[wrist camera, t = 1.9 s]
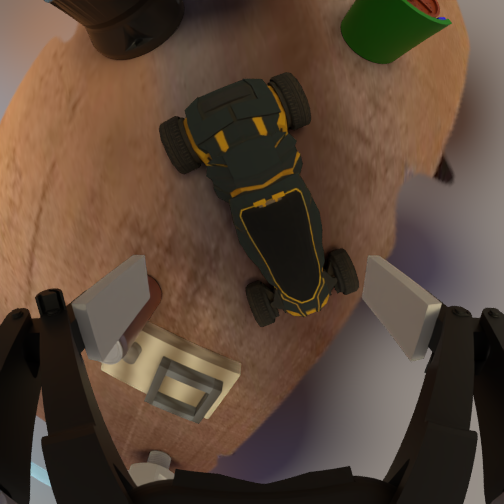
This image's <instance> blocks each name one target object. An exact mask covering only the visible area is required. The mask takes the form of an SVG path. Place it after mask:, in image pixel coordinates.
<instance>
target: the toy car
mask: <svg viewBox="0 0 504 504" xmlns="http://www.w3.org/2000/svg"><path fill="white" fill-rule="evenodd" d="M185 114H186V118H185V119H184V118H180V117H177V116H174V117H173V118H171V119H169V120H167V121H165V122H163V123H162V124H161V125H160V127H159V132H160V137H161V141H162V143H163V146H164V148H165V150H166V153H167V155H168V157H169V158H170V160H171V162H172V164H173V165H174V166H175V167H176V169H177V170H178V171H179V172H180V173H182V174H187V173H189V172H191V171H193V170H195V169H197V168H199V167H200V166H201V163H202V162H204V163H205V164H206V166H207V175H206V177H208V178H210V179H212V181H213V184H214V190H215V192H216V194H217V195H218V197H219V198H221V199H222V200H224V201H226V202H228V203H229V204H230V208H231V213H232V218H233V223H234V225H235V228H236V231H237V235H238V238H239V242H240V244H241V245H242V247H243V249H244V250H245V252H246V253H247V255H248V257H249V258H250V259H251V260H252V261H253V262H254V263H255V264H256V265H257V266H258V267H259V269H260V270H261V273H262V274H263V276H264V277H265V278H266V280H267V281H268V283H269V284H271V285H273V286H274V290H273V291H272V290H271V289H269V288H268V287H266V286H265V285H264V284H262V282H260V281H256V282H254V283H251V284H249V285H247V286H246V295H247V299H248V302H249V305H250V308H251V310H252V313H253V315H254V317H255V320H256V321H257V323H258V324H259V326H260V327H264V326H267V325H269V324H272V323H274V322H275V318H276V317H278V316H279V312H278V309H283V311H284V312H285V313H286V312H288V313H290V314H292V315H293V316H303V317H305V316H307V315H308V314H311V313H313V312H316V311H317V312H318V311H321V309H322V307H323V306H324V305H325V304H326V303H327V301H328V298H329V296H330V295H331V292H332V291H331V290H332V289H333V287H335V290H336V291H337V293H339V292H343V294H344V295H347V294H350V293H352V292H355V291H357V290H358V288H359V281H358V277H357V274H356V270H355V268H354V265H353V263H352V261H351V259H350V257H349V255H348V254H347V252H346V250H344V249H343V248H341V249H338V250H335V251H333V252H331V253H330V254H329V258H328V264H327V268H326V270H325V269H324V268H323V265H324V262H325V259H324V250H323V246H322V224H321V218H320V213H319V210H318V208H317V206H316V204H315V202H314V200H313V198H312V196H311V193H310V191H309V190H308V188H307V186H306V185H305V183H304V181H303V180H302V178H301V176H300V175H299V174H300V172H301V168H302V165H303V163H302V159H301V155H300V154H299V152H298V151H297V149H296V147H295V144H296V141H297V140H295V139H294V138H293V137H292V136H291V135H290V134H289V133H288V132H287V128H290V129H292V130H295V129H298V128H300V127H303V126H306V125H308V124H309V123H310V121H311V113H310V107H309V104H308V100H307V98H306V95H305V93H304V91H303V89H302V87H301V85H300V83H299V82H298V80H297V79H296V78H295V77H294V76H293V75H292V74H291V73H287V72H286V73H283V74H280V75H277V76H274V77H272V78H271V79H270V82H269V83H268V85H266V84H265V82H264V81H263V80H262V79H243V80H241V81H238V82H236V83H233V84H230V85H228V86H225V87H223V88H220V89H218V90H215V91H213V92H211V93H208V94H206V95H204V96H202V97H199V98H196V99H195V100H194V101H193V102H192V103H191V104H190V105H189V107H188V108H187V109H186V110H185ZM277 308H278V309H277Z"/></svg>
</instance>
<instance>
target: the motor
mask: <svg viewBox="0 0 504 504" xmlns="http://www.w3.org/2000/svg"><path fill="white" fill-rule="evenodd" d="M439 14H440V7H439V4H438V2H437V0H356V1H355V2H354V4H353V5H352V7H351V8H350V10H349V11H348V13H347V14H346V16H345V17H344V19H343V20H342V23H341V32H342V35H343V38H344V40H345V41H346V43H347V44H348V45H349V47H350V48H351V49H352V50H353V51H355V52H356V53H357V54H358V55H360V56H361V57H363V58H365V59H367V60H369V61H371V62H375V63H379V64H387V63H391V62H393V61H395V60H396V59H397V58H399V57H400V56H402V55H403V54H405V53H406V52H408V51H409V50H411V49H412V48H414V47H415V46H417V45H418V44H420V43H421V42H423V41H424V40H426V39H427V38H429V37H431V36H432V35H434V34H435V33H437V32H439V31H440V30H442V29H443V28H445V27H447V26H448V25H450V24H452V22H451V21H450V20H449V19H445V17H439V18H437V19H436V18H435V17H437V16H438V15H439Z"/></svg>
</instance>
